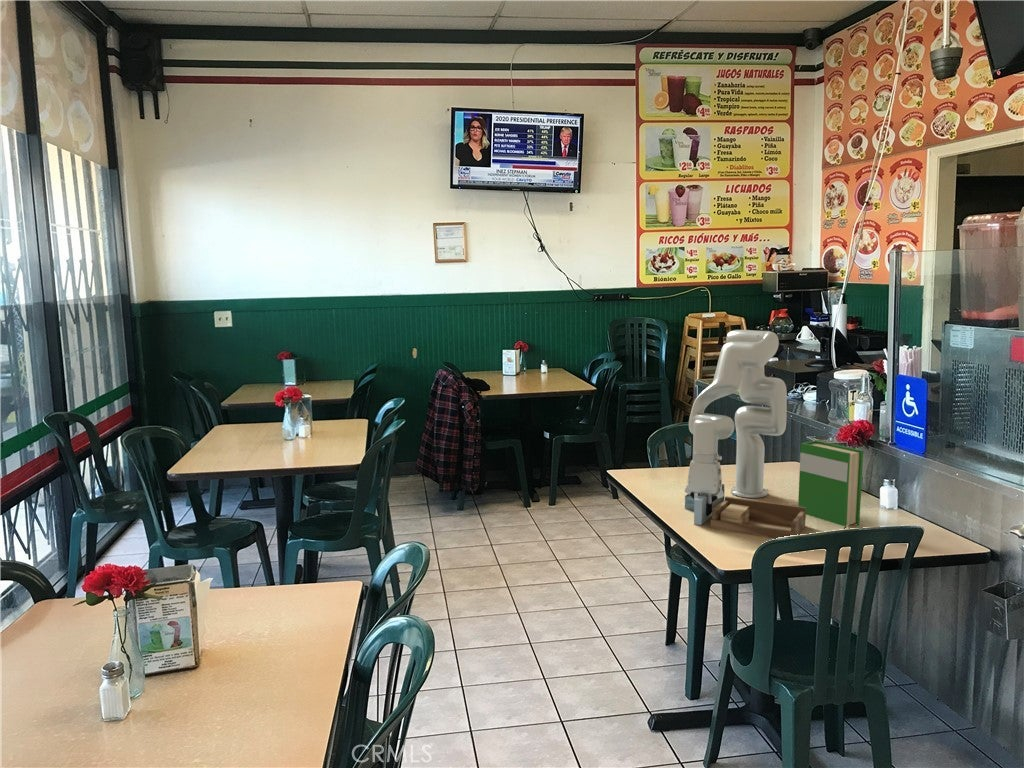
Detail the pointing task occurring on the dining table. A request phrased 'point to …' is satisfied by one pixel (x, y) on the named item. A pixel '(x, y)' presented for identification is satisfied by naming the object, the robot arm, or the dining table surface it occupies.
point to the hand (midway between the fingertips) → (703, 513)
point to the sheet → (700, 509)
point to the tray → (762, 518)
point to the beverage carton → (690, 501)
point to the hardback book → (831, 482)
